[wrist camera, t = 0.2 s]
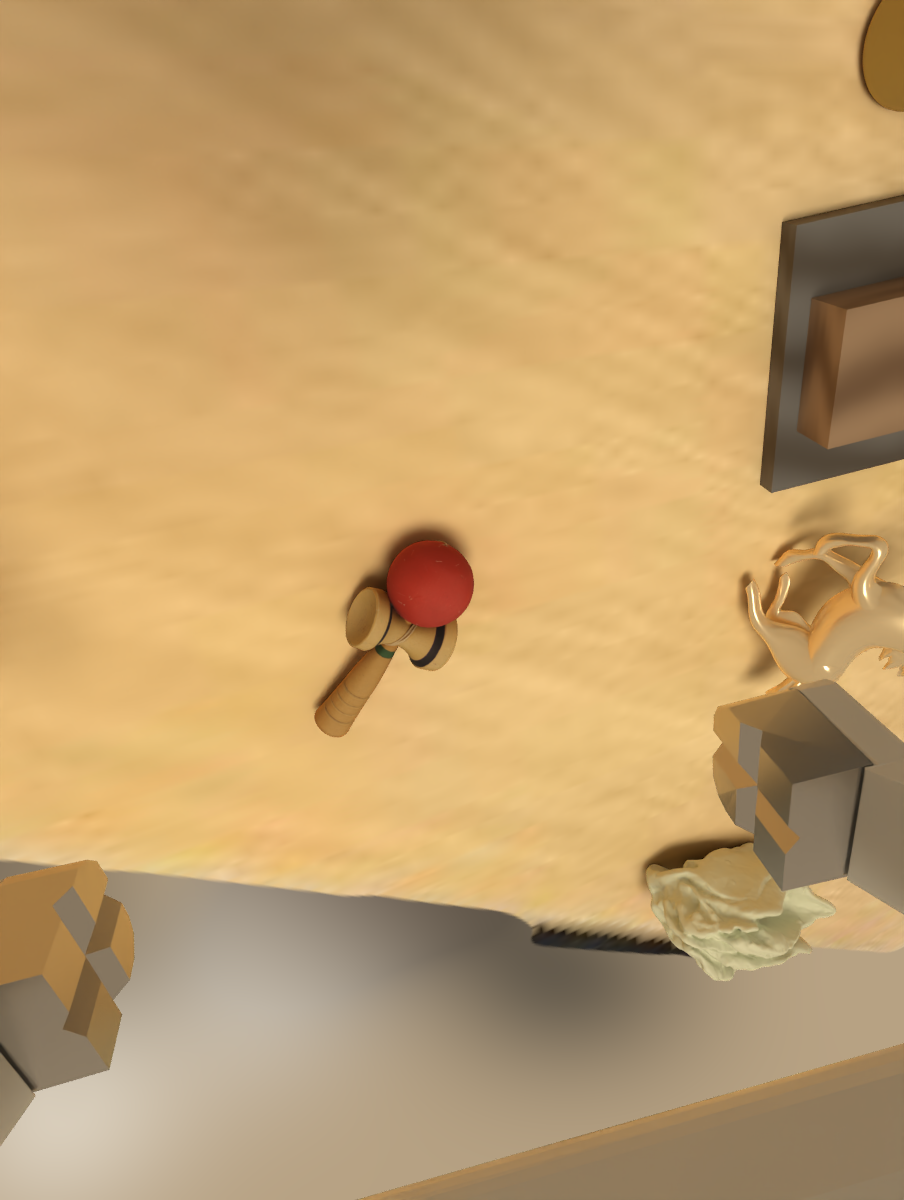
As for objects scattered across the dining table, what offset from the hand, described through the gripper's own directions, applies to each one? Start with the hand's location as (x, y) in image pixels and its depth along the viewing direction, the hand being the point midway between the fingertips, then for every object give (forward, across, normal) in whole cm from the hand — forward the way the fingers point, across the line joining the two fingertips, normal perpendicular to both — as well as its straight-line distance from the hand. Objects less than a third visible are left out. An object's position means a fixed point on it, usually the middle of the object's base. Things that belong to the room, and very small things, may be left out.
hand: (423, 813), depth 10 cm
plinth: (+40, -35, +7) cm, 54 cm away
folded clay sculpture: (+46, -28, +62) cm, 82 cm away
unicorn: (+41, -30, +23) cm, 56 cm away
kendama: (+41, +1, +21) cm, 46 cm away
